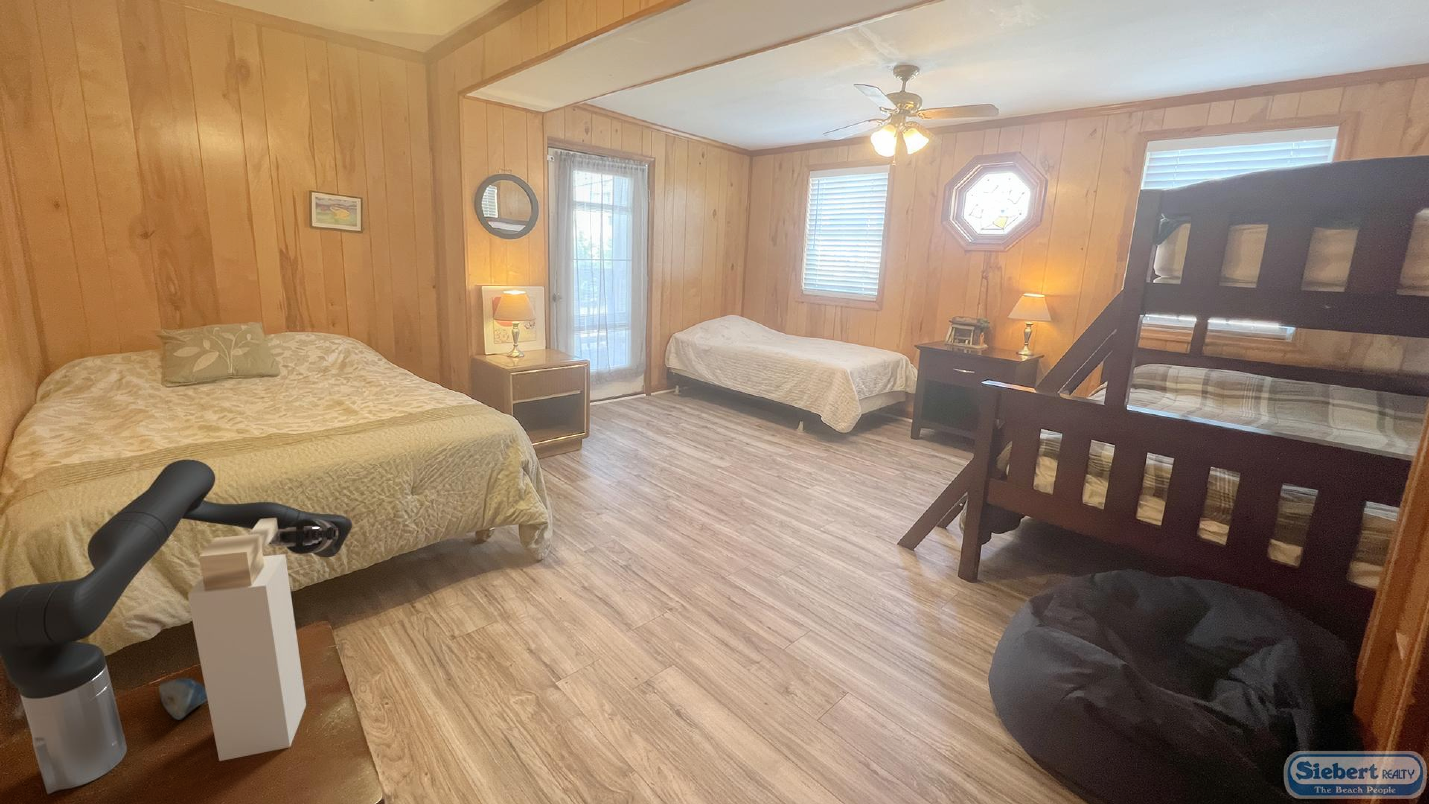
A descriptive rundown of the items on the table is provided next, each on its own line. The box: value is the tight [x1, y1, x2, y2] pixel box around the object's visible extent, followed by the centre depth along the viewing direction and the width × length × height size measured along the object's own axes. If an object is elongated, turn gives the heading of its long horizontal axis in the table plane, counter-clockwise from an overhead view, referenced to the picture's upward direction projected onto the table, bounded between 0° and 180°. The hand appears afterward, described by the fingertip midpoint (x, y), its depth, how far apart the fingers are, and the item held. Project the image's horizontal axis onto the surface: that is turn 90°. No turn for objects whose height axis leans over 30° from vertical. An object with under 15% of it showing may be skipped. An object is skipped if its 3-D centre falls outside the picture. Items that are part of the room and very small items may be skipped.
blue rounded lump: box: [158, 677, 208, 721], centre depth 108 cm, size 6×9×10 cm
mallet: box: [198, 518, 278, 591], centre depth 101 cm, size 20×6×6 cm, turn 21°
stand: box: [187, 553, 307, 762], centre depth 101 cm, size 10×10×32 cm
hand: (285, 536), depth 117 cm, fingers open, 8 cm apart
